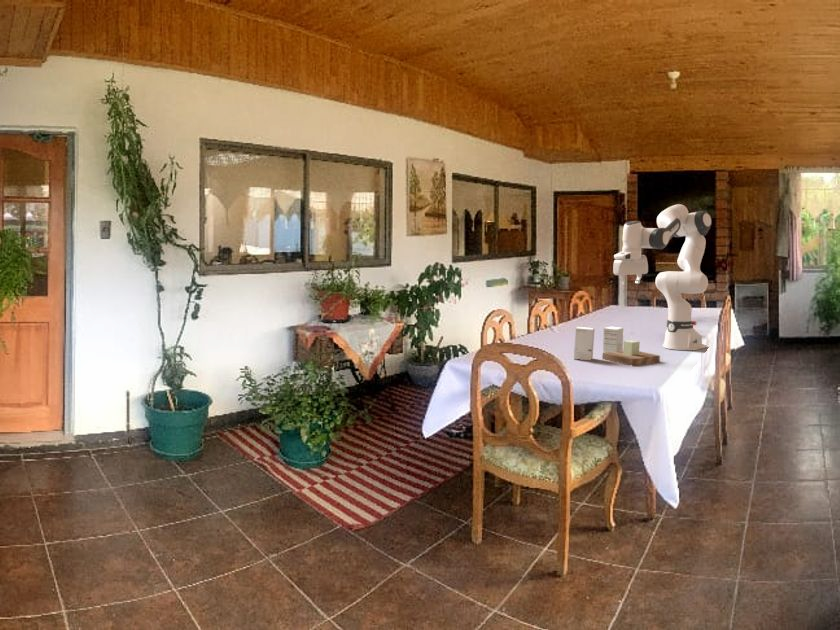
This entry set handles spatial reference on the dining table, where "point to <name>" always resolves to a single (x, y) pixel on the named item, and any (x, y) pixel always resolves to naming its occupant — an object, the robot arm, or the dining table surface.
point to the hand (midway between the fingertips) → (630, 284)
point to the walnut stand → (631, 358)
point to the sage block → (631, 347)
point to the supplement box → (613, 339)
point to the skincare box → (584, 343)
